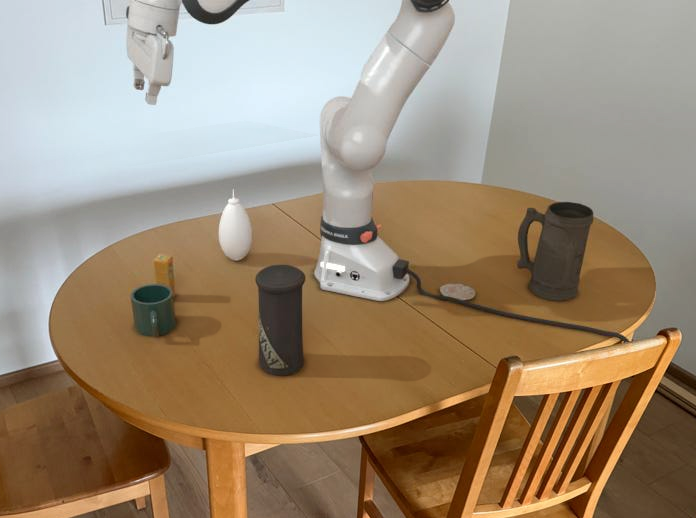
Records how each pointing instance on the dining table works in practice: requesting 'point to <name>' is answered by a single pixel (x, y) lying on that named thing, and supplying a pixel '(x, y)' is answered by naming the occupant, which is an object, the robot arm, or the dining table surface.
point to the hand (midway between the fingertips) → (144, 96)
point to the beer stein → (556, 249)
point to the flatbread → (457, 291)
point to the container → (280, 319)
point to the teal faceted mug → (153, 309)
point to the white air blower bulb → (235, 230)
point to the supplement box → (164, 271)
